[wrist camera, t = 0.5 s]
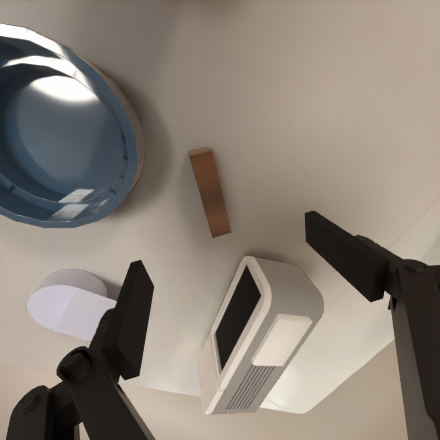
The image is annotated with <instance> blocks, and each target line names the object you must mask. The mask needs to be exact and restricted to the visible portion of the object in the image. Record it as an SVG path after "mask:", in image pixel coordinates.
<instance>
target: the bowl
mask: <svg viewBox="0 0 440 440" xmlns="http://www.w3.org/2000/svg"><path fill="white" fill-rule="evenodd" d="M144 160H145V147H144V134H143V131H142V128H141V126H140V123H139V120H138V117H137V115H136V112H135V110H134V108H133V107H132V105H131V104H130V102H129V101H128V99H127V98H126V97H125V95H124V94H123V92H122V91H121V90H120V88H119V87H118V86H117V84H116V83H114V82H113V81H112V80H111V79H110V78H109V77H107V76H106V75H105V74H104V73H103V72H101V71H100V70H99V69H98V68H97V67H96V66H94V65H93V64H92V63H90V62H89V61H87V60H86V59H84V58H83V57H81V56H80V55H78V54H77V53H76V52H74V51H73V50H71V49H70V48H68V47H66V46H64V45H62V44H60V43H58V42H56V41H54V40H52V39H50V38H48V37H46V36H44V35H42V34H39V33H37V32H35V31H33V30H31V29H29V28H27V27H21V26H14V25H8V24H2V23H0V214H1V215H4V216H6V217H8V218H10V219H12V220H15V221H17V222H22V223H26V224H30V225H34V226H39V227H43V228H74V227H78V226H82V225H85V224H89V223H93V222H96V221H99V220H100V219H102V218H103V217H105V216H106V215H108V214H109V213H111V212H112V211H114V210H115V209H117V208H118V207H119V205H120V204H121V203H122V201H123V200H124V199H125V197H126V196H127V194H128V193H129V192H130V190H131V189H132V188H133V186H134V185H135V183H136V182H137V181H138V179H139V178H140V174H141V171H142V167H143V164H144Z"/></svg>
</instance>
